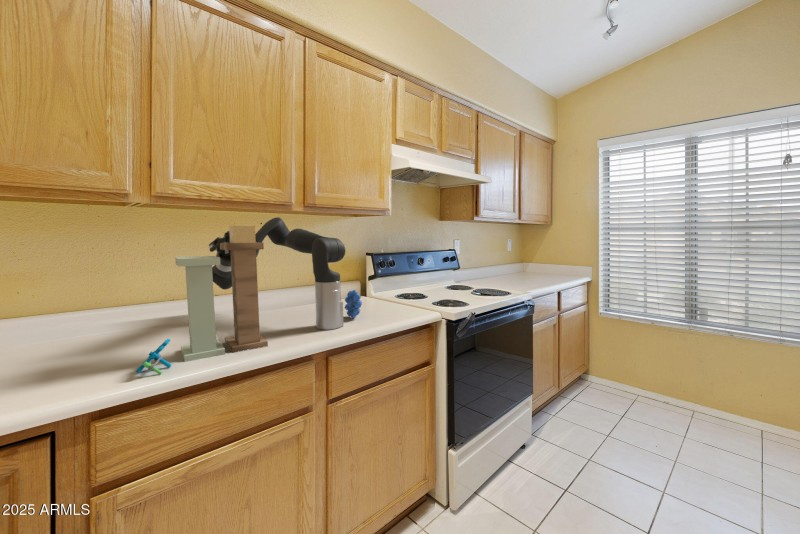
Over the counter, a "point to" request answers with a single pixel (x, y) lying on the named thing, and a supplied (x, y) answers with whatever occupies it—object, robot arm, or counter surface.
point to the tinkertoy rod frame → (155, 357)
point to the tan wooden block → (242, 234)
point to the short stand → (200, 307)
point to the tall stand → (244, 296)
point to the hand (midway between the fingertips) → (234, 233)
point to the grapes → (353, 303)
